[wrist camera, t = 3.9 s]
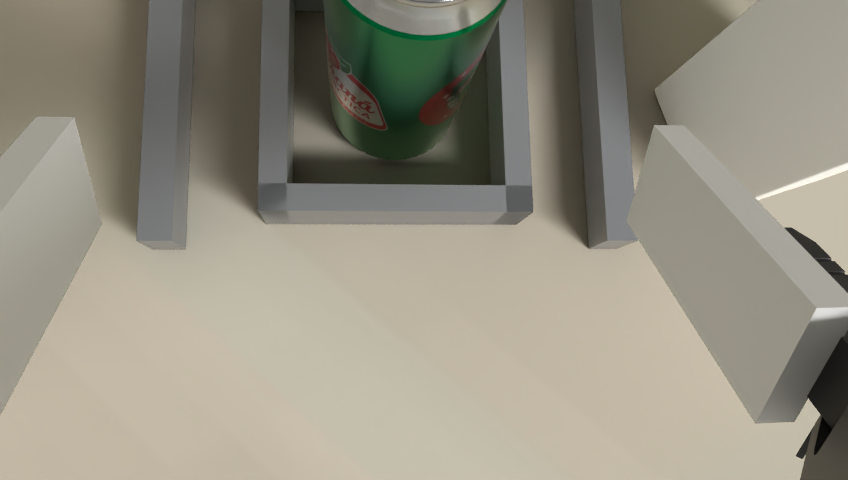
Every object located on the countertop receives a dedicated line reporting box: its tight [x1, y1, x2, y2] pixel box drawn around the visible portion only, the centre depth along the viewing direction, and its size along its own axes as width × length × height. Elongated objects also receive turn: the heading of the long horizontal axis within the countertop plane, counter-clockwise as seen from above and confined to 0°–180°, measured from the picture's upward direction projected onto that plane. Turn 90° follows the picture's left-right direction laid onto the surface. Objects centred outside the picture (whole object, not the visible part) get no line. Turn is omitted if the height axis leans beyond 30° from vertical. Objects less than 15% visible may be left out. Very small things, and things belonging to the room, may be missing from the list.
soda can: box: [323, 0, 508, 160], centre depth 21 cm, size 5×5×12 cm
